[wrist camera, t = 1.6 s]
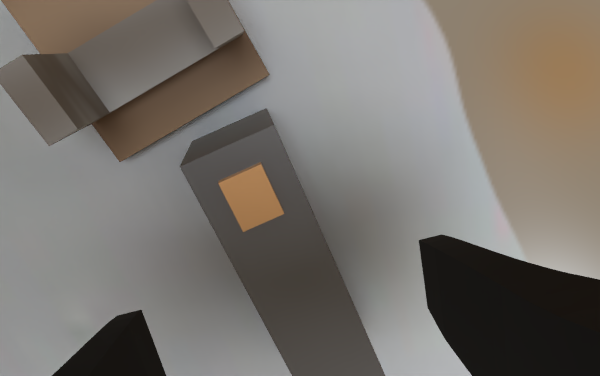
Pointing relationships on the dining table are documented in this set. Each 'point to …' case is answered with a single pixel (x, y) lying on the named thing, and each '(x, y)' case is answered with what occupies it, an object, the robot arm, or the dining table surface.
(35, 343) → the dining table surface
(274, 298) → the grey rectangular block
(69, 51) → the cradle
